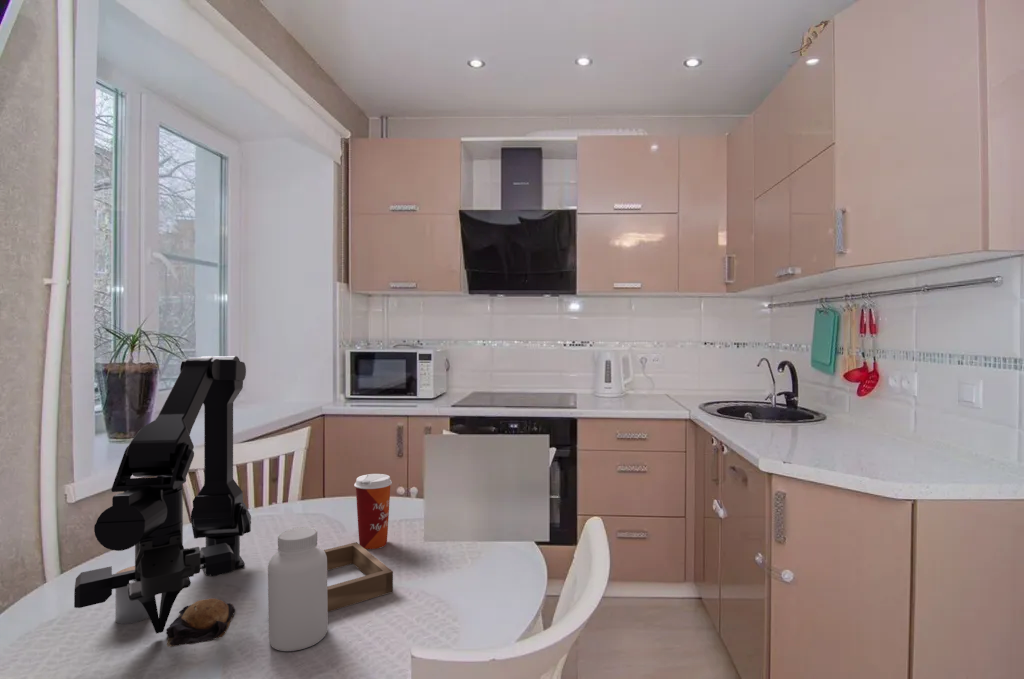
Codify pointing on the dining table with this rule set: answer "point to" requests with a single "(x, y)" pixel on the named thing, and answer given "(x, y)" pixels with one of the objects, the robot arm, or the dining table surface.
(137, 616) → the grey sugar pot
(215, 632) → the bread roll
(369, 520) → the paper cup
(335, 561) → the tray
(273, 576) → the pill bottle
